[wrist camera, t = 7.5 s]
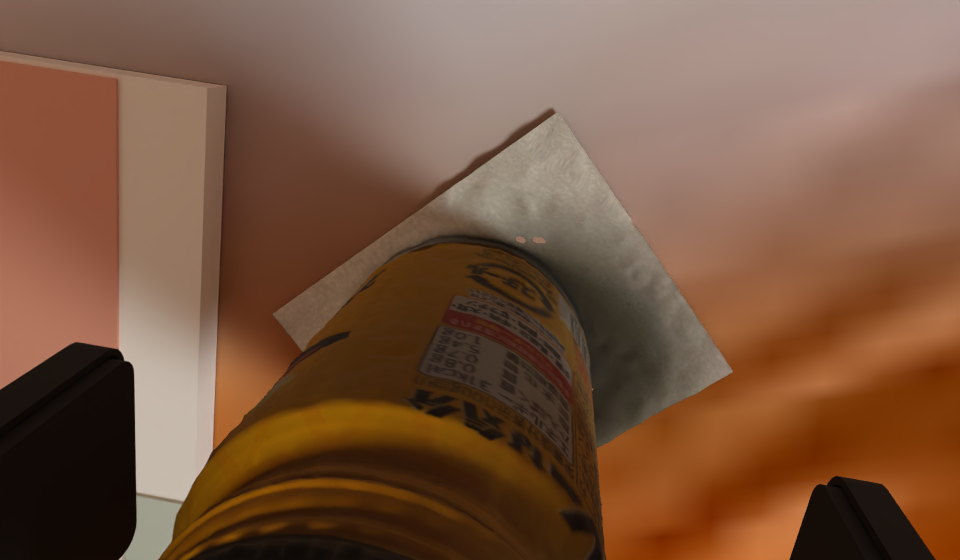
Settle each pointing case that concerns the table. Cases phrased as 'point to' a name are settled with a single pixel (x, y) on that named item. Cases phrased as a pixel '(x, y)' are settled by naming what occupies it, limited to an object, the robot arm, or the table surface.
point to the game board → (117, 250)
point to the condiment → (459, 381)
